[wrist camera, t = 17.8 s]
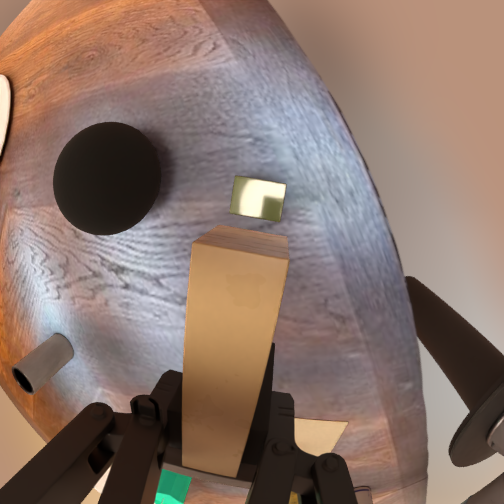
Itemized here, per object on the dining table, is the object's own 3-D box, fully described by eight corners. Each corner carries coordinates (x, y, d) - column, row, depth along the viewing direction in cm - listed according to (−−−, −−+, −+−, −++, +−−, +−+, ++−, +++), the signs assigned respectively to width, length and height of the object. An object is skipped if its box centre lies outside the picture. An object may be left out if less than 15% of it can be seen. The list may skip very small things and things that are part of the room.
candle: (190, 466, 37) (172, 518, 25) (159, 451, 37) (136, 502, 25) (204, 454, 35) (186, 512, 24) (170, 438, 35) (145, 495, 24)
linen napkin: (348, 421, 31) (348, 422, 31) (313, 476, 35) (313, 477, 35) (237, 408, 32) (237, 409, 32) (225, 466, 36) (225, 467, 36)
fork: (210, 207, 14) (139, 233, 7) (313, 225, 14) (347, 270, 6) (190, 446, 19) (165, 517, 12) (251, 459, 19) (240, 533, 11)
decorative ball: (163, 237, 28) (109, 264, 18) (89, 211, 28) (26, 226, 18) (189, 140, 25) (141, 120, 15) (109, 125, 25) (46, 110, 16)
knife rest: (286, 184, 25) (287, 183, 21) (280, 216, 26) (280, 222, 22) (242, 176, 25) (234, 175, 21) (237, 208, 26) (228, 213, 22)
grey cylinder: (77, 348, 33) (35, 386, 23) (70, 363, 34) (32, 400, 24) (56, 327, 33) (12, 360, 23) (50, 343, 34) (10, 376, 24)
